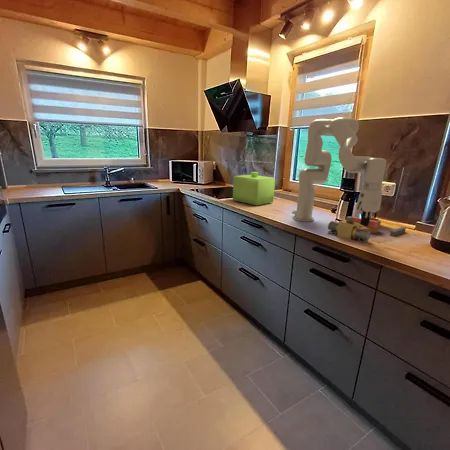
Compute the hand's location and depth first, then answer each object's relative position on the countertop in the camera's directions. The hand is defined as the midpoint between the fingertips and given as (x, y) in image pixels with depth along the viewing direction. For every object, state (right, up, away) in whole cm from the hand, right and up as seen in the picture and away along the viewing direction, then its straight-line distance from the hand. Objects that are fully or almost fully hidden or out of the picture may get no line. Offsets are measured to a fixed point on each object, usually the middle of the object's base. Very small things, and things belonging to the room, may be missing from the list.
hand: (364, 225), depth 128 cm
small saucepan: (+11, -4, +23) cm, 26 cm away
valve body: (-2, -6, +12) cm, 14 cm away
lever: (+1, +1, +6) cm, 6 cm away
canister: (-43, +19, +94) cm, 105 cm away
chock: (+29, -5, +21) cm, 36 cm away
